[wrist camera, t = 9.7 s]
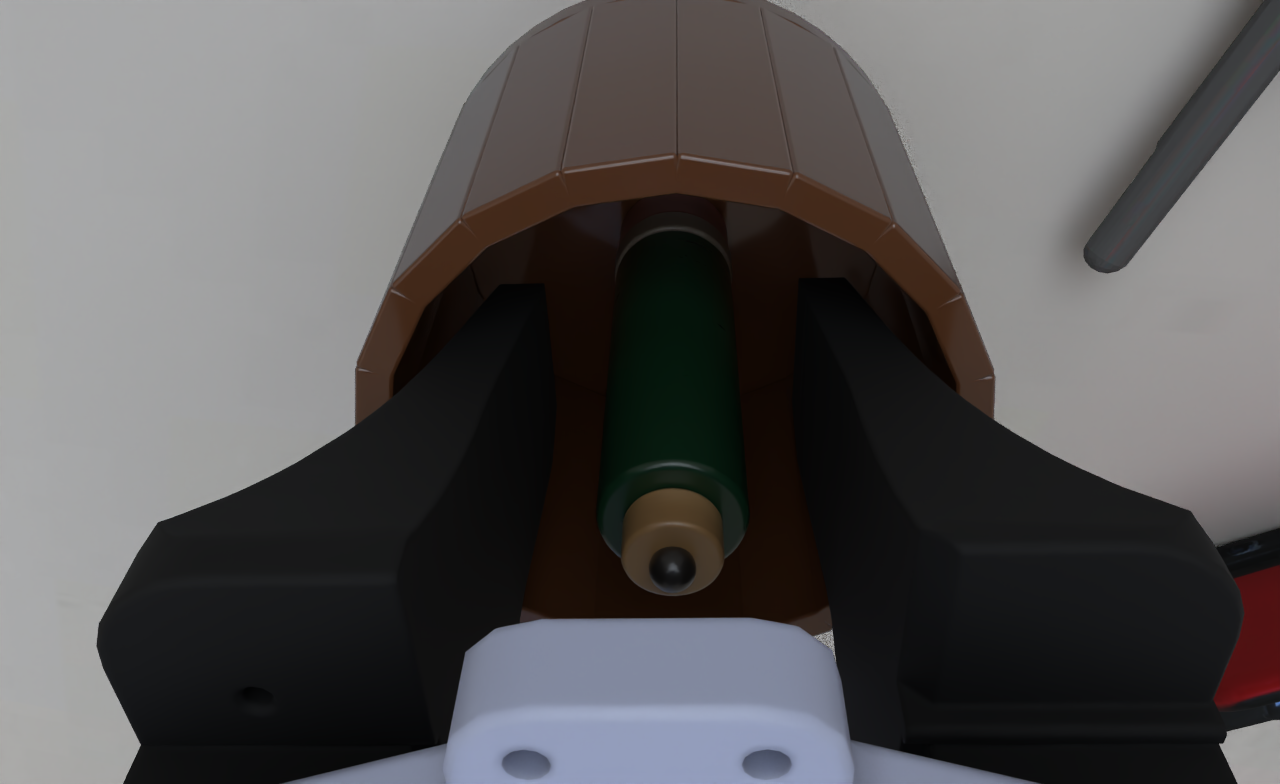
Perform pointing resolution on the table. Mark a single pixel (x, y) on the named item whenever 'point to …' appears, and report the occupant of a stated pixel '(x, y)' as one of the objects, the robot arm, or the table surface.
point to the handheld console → (1253, 634)
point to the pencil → (673, 401)
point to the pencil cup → (757, 239)
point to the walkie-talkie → (1190, 141)
